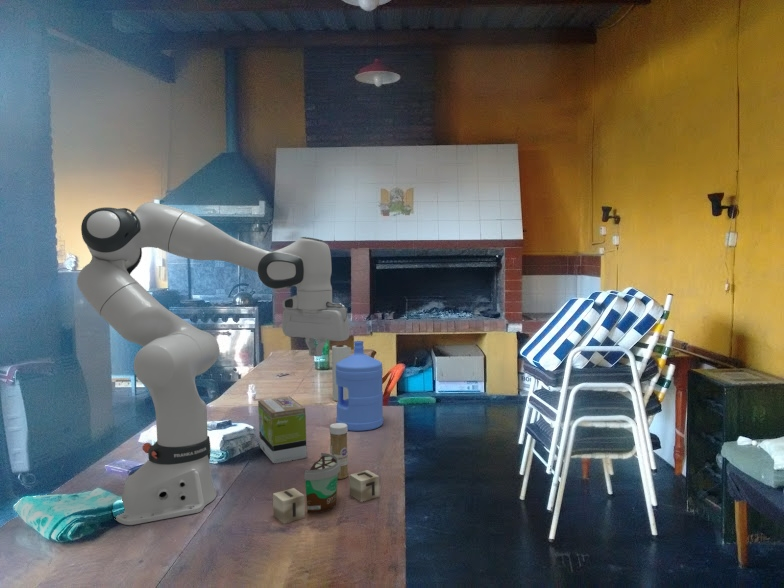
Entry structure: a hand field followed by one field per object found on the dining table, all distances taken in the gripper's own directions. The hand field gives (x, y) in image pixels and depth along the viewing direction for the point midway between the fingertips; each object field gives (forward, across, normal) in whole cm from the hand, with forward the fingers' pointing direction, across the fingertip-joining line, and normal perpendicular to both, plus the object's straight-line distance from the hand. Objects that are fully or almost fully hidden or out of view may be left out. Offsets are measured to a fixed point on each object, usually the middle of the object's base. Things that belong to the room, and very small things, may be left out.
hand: (315, 355), depth 147 cm
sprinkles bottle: (+31, -5, -2) cm, 32 cm away
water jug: (+31, +19, -41) cm, 55 cm away
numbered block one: (+31, -11, +21) cm, 39 cm away
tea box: (+31, +20, -7) cm, 38 cm away
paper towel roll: (+31, +46, -63) cm, 84 cm away
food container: (+31, -14, +12) cm, 36 cm away
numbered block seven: (+31, -18, +3) cm, 36 cm away
